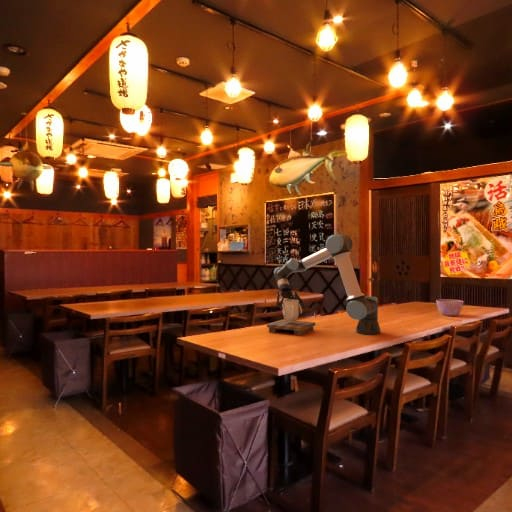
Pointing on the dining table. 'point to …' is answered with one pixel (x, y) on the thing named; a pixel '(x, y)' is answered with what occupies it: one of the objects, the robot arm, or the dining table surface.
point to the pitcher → (291, 309)
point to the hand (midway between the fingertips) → (293, 313)
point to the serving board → (291, 326)
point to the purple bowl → (449, 306)
